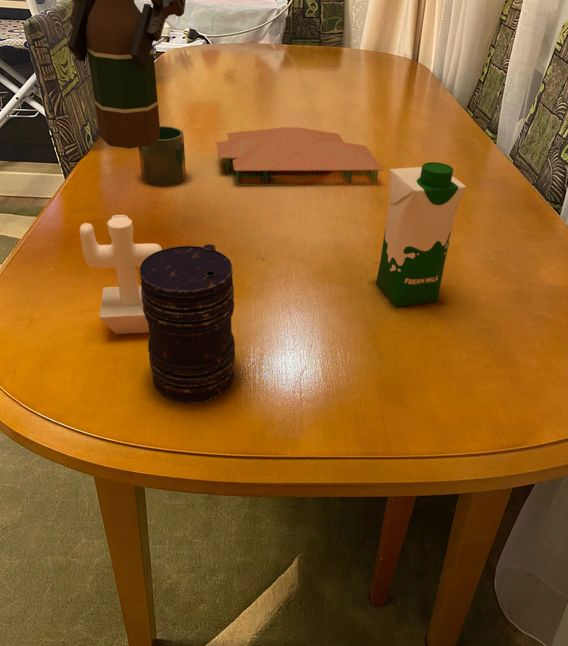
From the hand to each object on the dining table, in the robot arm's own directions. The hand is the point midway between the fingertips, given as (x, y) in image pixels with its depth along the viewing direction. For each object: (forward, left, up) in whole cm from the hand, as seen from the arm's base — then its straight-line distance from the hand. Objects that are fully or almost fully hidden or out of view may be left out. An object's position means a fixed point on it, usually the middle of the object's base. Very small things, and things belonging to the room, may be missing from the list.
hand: (106, 58), depth 71 cm
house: (-1, +56, -31) cm, 64 cm away
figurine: (+6, -9, -31) cm, 32 cm away
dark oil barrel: (+19, -15, -31) cm, 39 cm away
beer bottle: (-1, +3, -11) cm, 11 cm away
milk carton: (+36, +17, -31) cm, 51 cm away
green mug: (-21, +36, -30) cm, 52 cm away
